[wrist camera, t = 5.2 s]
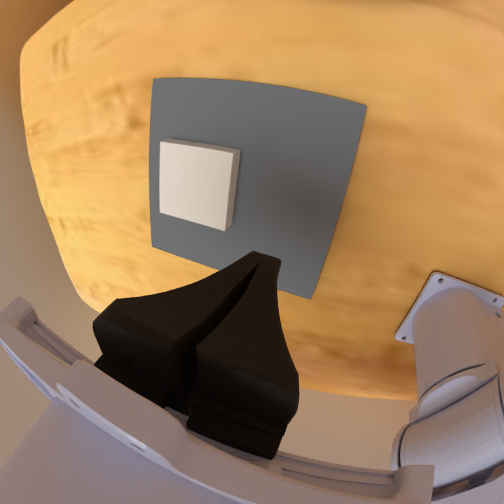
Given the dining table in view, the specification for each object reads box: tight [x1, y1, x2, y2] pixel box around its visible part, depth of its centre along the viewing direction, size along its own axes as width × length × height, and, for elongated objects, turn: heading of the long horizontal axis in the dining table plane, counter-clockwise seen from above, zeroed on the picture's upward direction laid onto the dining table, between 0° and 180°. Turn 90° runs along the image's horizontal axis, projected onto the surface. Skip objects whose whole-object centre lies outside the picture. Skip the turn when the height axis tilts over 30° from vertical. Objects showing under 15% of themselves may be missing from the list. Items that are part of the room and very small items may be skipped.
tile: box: [159, 139, 241, 231], centre depth 20 cm, size 2×6×6 cm
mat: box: [149, 78, 367, 300], centre depth 21 cm, size 16×16×1 cm
